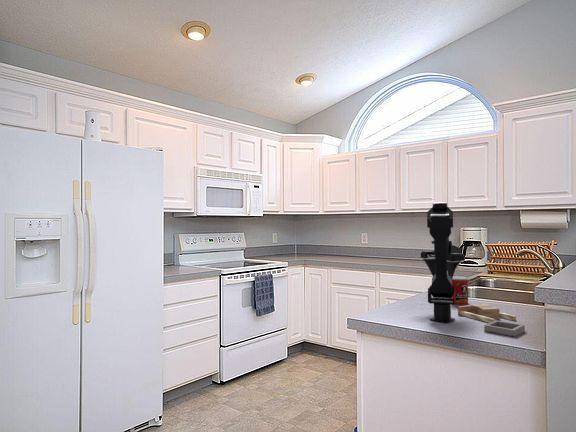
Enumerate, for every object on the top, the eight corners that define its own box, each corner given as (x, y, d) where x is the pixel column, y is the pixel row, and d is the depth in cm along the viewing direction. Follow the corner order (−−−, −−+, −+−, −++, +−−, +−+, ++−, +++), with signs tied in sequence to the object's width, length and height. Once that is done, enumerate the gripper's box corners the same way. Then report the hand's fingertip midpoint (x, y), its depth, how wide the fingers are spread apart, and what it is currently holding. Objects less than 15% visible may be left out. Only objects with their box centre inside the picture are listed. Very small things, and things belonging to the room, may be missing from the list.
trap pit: (514, 336, 126) (514, 330, 126) (484, 331, 133) (484, 325, 133) (524, 331, 132) (524, 324, 132) (495, 326, 139) (495, 320, 139)
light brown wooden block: (499, 319, 149) (499, 308, 149) (483, 320, 148) (483, 309, 148) (486, 314, 156) (486, 304, 157) (471, 315, 156) (471, 304, 156)
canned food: (457, 305, 173) (456, 279, 173) (445, 301, 181) (444, 276, 181) (472, 303, 175) (471, 278, 175) (460, 300, 183) (459, 275, 183)
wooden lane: (516, 320, 146) (516, 311, 146) (492, 323, 142) (492, 315, 142) (480, 311, 161) (480, 303, 161) (457, 314, 156) (457, 306, 157)
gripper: (475, 238, 159) (476, 278, 159) (440, 237, 177) (441, 273, 176) (452, 239, 155) (453, 281, 155) (419, 238, 172) (420, 275, 172)
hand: (442, 277), depth 165 cm, fingers open, 9 cm apart
